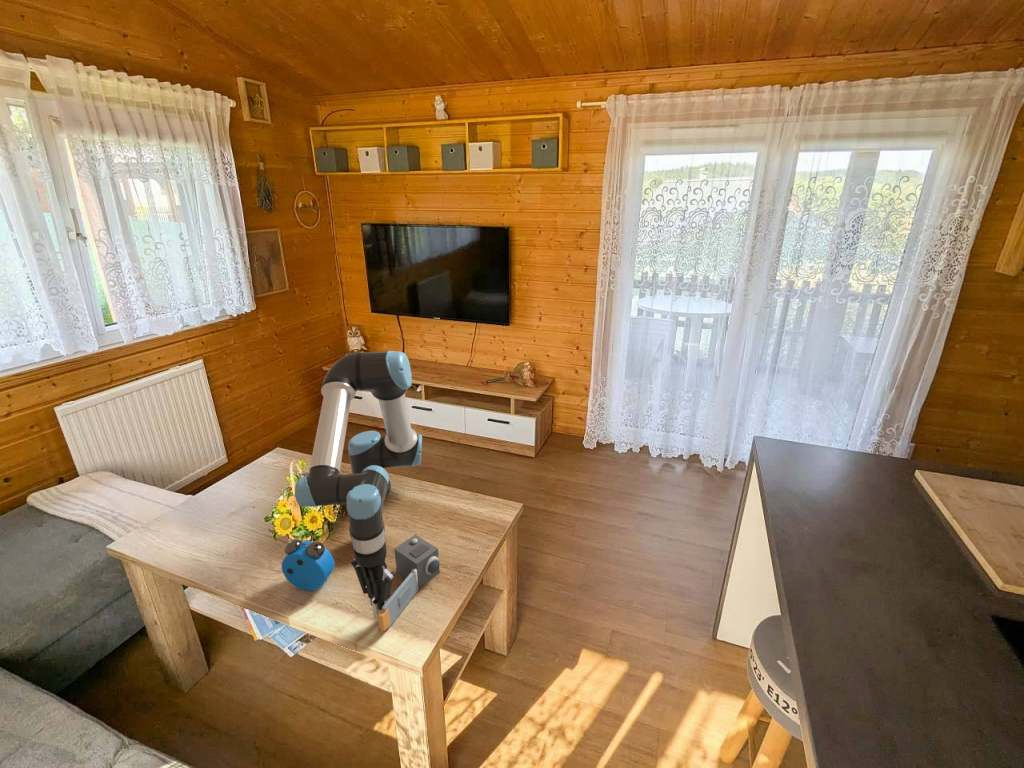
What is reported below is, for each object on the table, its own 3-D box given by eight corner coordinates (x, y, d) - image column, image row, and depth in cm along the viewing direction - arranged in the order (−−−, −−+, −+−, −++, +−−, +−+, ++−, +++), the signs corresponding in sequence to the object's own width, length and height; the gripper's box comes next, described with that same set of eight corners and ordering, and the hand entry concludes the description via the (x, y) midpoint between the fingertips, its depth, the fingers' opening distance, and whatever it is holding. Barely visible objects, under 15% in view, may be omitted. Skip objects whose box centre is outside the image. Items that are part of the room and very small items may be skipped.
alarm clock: (338, 579, 140) (330, 537, 135) (327, 595, 135) (318, 552, 129) (297, 573, 143) (288, 532, 137) (285, 589, 137) (275, 547, 131)
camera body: (397, 572, 143) (393, 546, 139) (417, 558, 148) (415, 532, 145) (422, 591, 136) (420, 564, 132) (443, 574, 142) (441, 548, 138)
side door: (385, 634, 122) (382, 613, 120) (380, 632, 123) (377, 611, 120) (419, 589, 136) (417, 569, 134) (415, 588, 137) (413, 567, 134)
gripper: (399, 544, 117) (407, 615, 126) (361, 527, 123) (371, 596, 132) (378, 563, 111) (387, 637, 120) (339, 545, 117) (351, 616, 126)
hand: (379, 615), depth 126 cm, fingers closed
